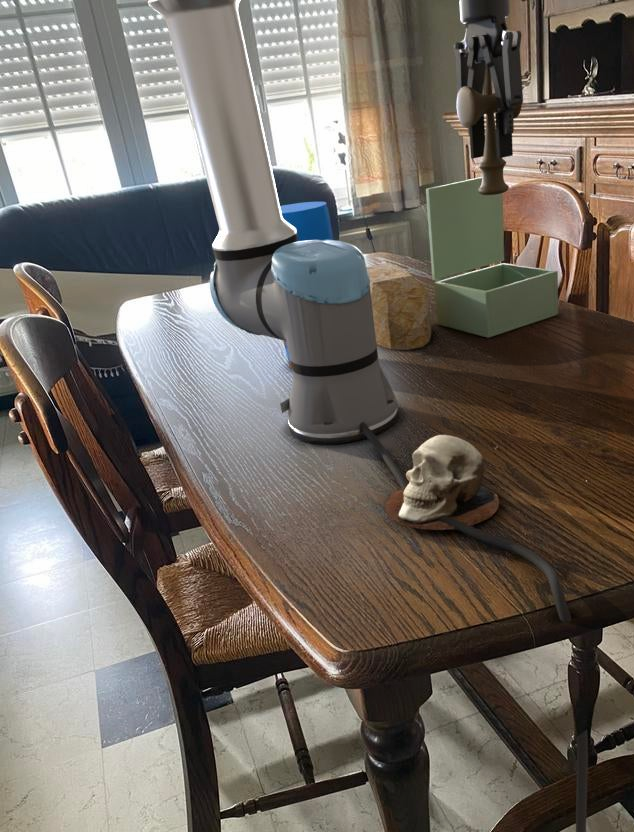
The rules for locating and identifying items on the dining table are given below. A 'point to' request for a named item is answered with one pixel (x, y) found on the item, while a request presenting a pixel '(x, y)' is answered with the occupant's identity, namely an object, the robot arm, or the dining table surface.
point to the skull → (443, 487)
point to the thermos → (308, 225)
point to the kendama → (469, 113)
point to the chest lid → (464, 228)
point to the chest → (496, 299)
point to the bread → (399, 308)
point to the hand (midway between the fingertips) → (491, 156)
